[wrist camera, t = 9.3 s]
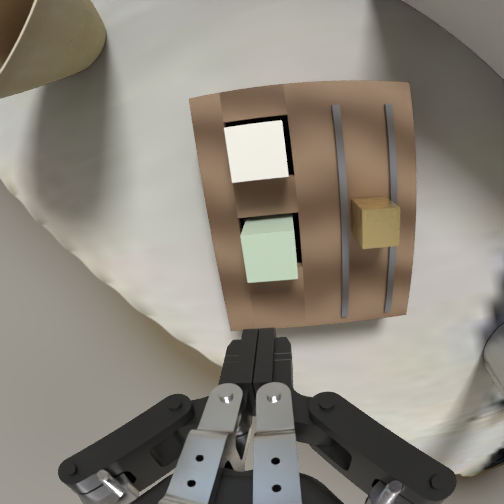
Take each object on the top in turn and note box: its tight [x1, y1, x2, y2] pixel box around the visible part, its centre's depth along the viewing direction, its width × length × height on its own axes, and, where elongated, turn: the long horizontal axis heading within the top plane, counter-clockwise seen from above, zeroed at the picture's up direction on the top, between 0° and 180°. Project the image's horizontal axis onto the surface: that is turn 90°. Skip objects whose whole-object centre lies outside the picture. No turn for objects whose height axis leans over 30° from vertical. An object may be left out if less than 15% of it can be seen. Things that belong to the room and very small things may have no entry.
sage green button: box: [240, 213, 298, 283], centre depth 26 cm, size 4×4×5 cm
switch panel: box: [189, 81, 416, 331], centre depth 27 cm, size 22×18×6 cm
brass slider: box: [352, 197, 400, 249], centre depth 22 cm, size 3×3×4 cm
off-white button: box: [224, 120, 289, 183], centre depth 22 cm, size 4×4×5 cm
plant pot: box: [0, 0, 106, 98], centre depth 17 cm, size 15×15×16 cm
